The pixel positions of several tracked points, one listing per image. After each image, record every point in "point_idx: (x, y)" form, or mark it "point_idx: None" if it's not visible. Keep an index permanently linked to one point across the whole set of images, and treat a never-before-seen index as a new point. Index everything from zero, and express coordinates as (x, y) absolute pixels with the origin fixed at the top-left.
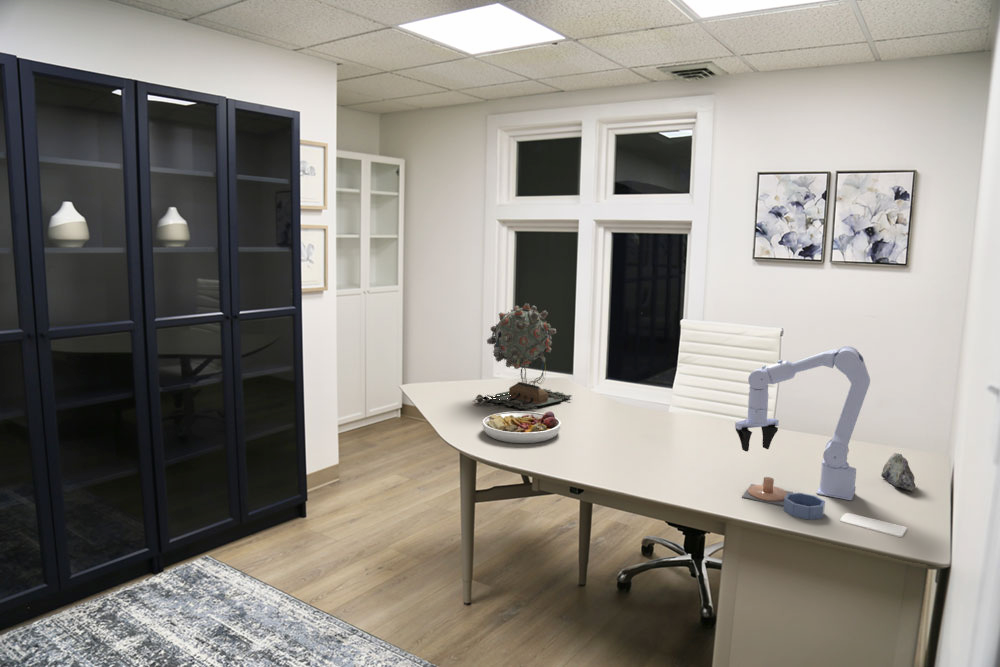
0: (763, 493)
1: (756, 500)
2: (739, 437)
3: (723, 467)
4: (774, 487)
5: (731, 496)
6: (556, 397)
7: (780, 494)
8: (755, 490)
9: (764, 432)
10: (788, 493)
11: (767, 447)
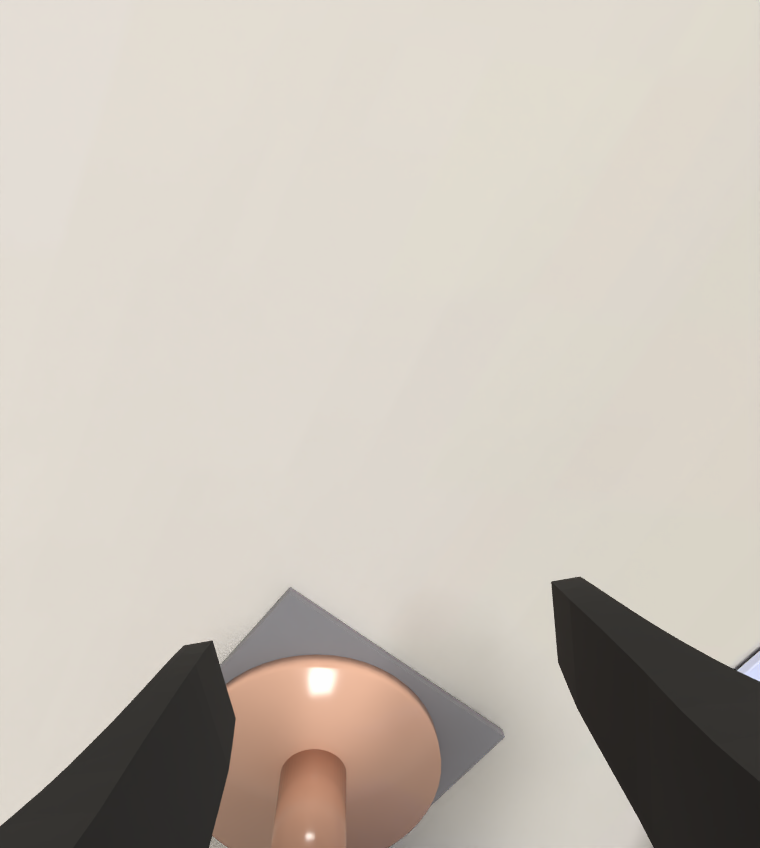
0: (266, 799)
1: None
2: (22, 812)
3: (225, 137)
4: (401, 716)
5: (58, 752)
6: None
7: (373, 816)
8: (234, 755)
9: (716, 815)
10: (459, 755)
11: (570, 689)
